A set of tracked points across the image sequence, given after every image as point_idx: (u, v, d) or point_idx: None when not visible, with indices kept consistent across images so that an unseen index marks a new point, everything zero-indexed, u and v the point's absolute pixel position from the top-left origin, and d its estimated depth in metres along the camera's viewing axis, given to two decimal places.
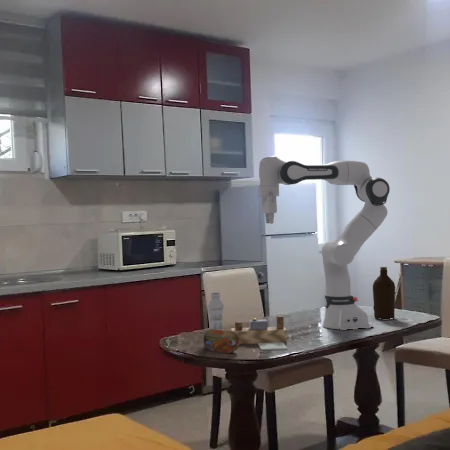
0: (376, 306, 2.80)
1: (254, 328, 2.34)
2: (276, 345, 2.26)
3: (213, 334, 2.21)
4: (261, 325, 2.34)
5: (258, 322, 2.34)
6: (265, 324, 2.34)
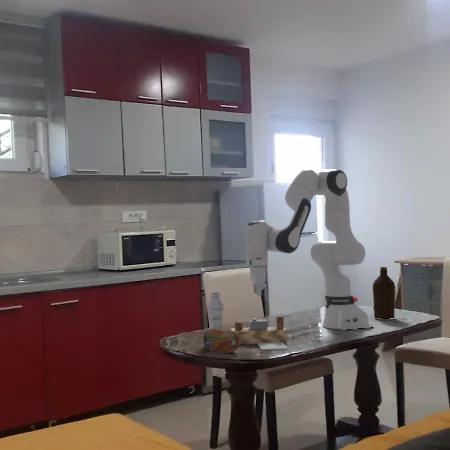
0: (376, 306, 2.80)
1: (254, 328, 2.34)
2: (276, 345, 2.26)
3: (213, 334, 2.21)
4: (261, 325, 2.34)
5: (258, 322, 2.34)
6: (265, 324, 2.34)
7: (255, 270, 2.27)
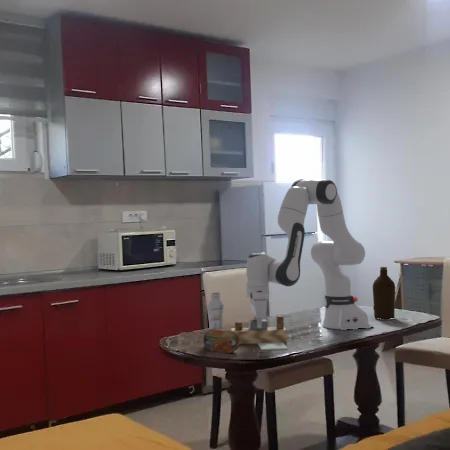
0: (376, 306, 2.80)
1: (254, 328, 2.34)
2: (276, 345, 2.26)
3: (213, 334, 2.21)
4: None
5: None
6: (265, 324, 2.34)
7: (256, 303, 2.27)
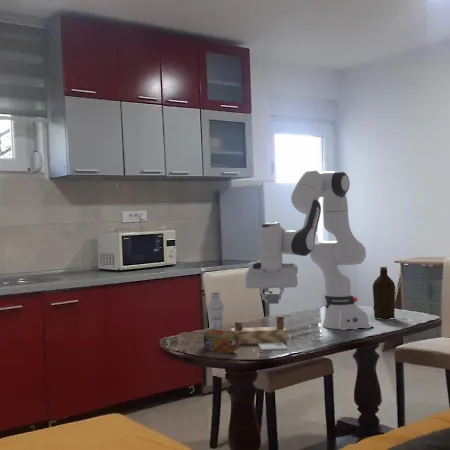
0: (376, 306, 2.80)
1: (265, 300, 2.27)
2: (276, 345, 2.26)
3: (213, 334, 2.21)
4: (266, 298, 2.24)
5: (265, 294, 2.25)
6: (266, 297, 2.23)
7: (246, 272, 2.26)
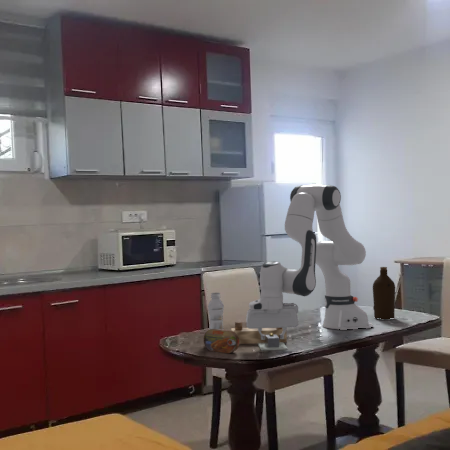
0: (376, 306, 2.80)
1: (265, 343, 2.28)
2: None
3: (213, 334, 2.21)
4: (267, 341, 2.25)
5: (266, 337, 2.26)
6: (267, 341, 2.23)
7: (247, 311, 2.27)
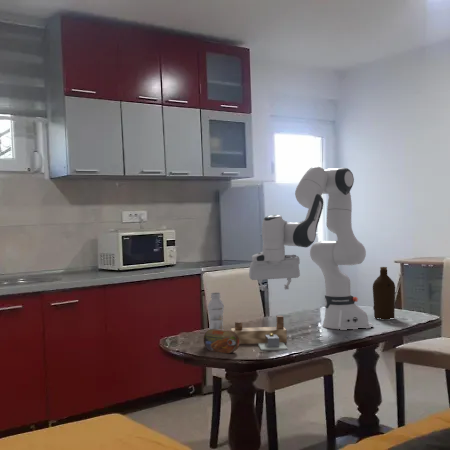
0: (376, 306, 2.80)
1: (265, 343, 2.28)
2: None
3: (213, 334, 2.21)
4: (267, 341, 2.25)
5: (266, 337, 2.26)
6: (267, 341, 2.23)
7: (250, 264, 2.34)
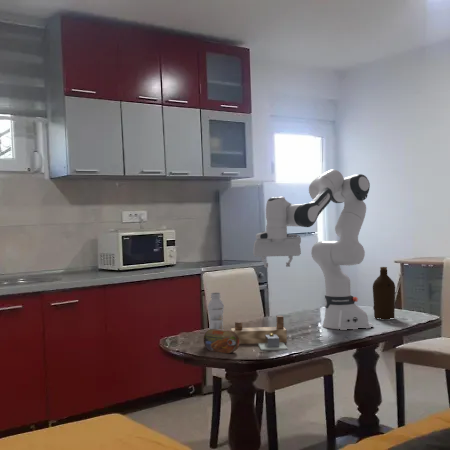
0: (376, 306, 2.80)
1: (265, 343, 2.28)
2: None
3: (213, 334, 2.21)
4: (267, 341, 2.25)
5: (266, 337, 2.26)
6: (267, 341, 2.23)
7: (254, 242, 2.49)
